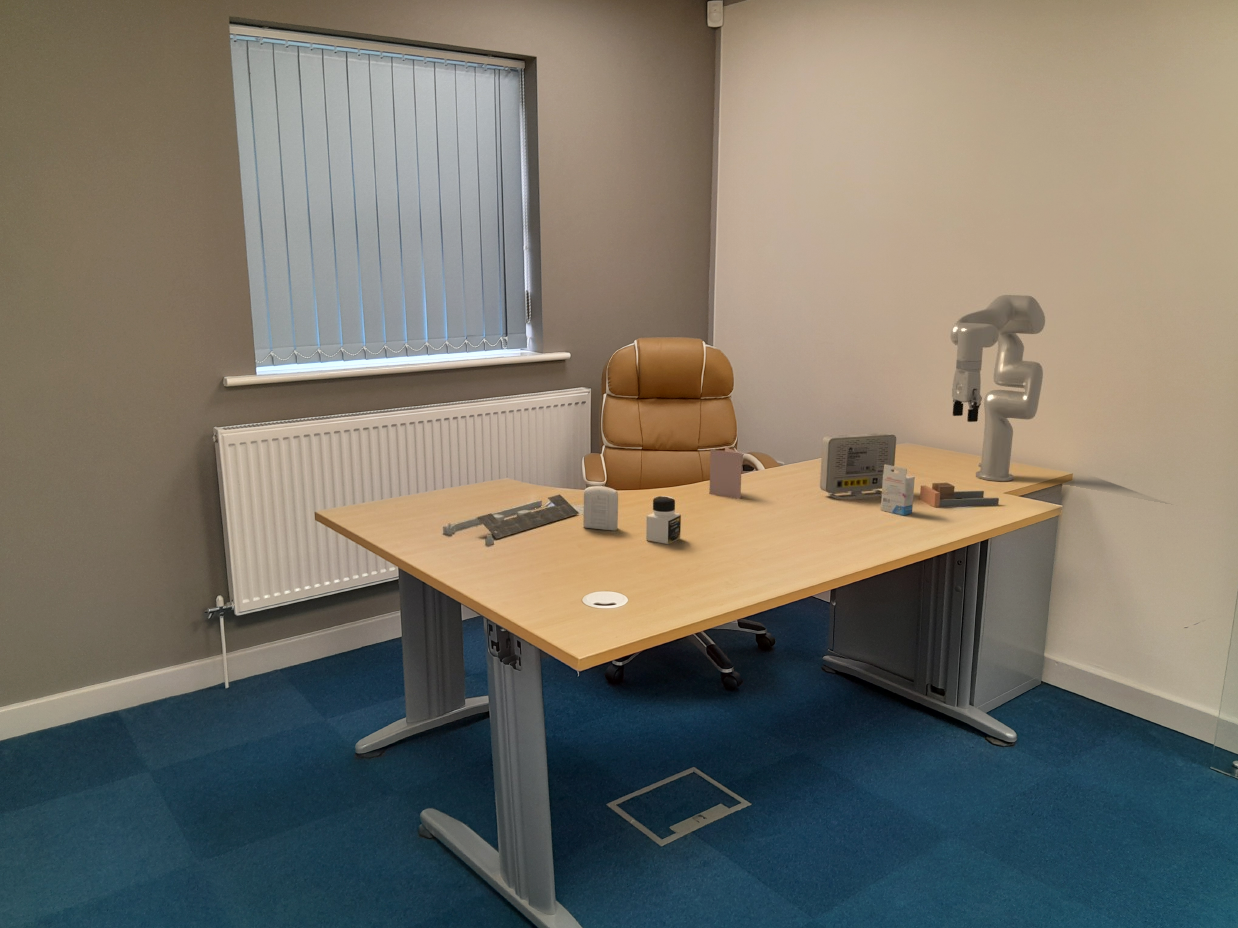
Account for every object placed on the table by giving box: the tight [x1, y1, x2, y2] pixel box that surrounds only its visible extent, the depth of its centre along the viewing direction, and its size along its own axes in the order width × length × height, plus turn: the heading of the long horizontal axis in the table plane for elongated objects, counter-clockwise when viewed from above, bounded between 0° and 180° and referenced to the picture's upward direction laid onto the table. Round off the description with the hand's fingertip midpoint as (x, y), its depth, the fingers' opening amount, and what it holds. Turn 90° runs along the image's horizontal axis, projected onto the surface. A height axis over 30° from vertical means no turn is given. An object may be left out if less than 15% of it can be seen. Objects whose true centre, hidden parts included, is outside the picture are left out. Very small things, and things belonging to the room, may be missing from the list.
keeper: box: [931, 482, 956, 499], centre depth 296 cm, size 5×5×6 cm
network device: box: [819, 432, 897, 500], centre depth 304 cm, size 26×9×20 cm, turn 108°
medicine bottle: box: [645, 495, 682, 545], centre depth 255 cm, size 7×7×12 cm
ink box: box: [880, 465, 916, 516], centre depth 284 cm, size 8×5×15 cm, turn 39°
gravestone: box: [582, 485, 619, 531], centre depth 265 cm, size 10×4×12 cm, turn 72°
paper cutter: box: [442, 493, 584, 546], centre depth 271 cm, size 18×45×6 cm, turn 140°
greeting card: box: [708, 446, 743, 499], centre depth 303 cm, size 11×7×15 cm, turn 22°
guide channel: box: [919, 485, 1000, 508], centre depth 297 cm, size 10×22×4 cm, turn 98°
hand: (964, 418), depth 296 cm, fingers open, 9 cm apart
